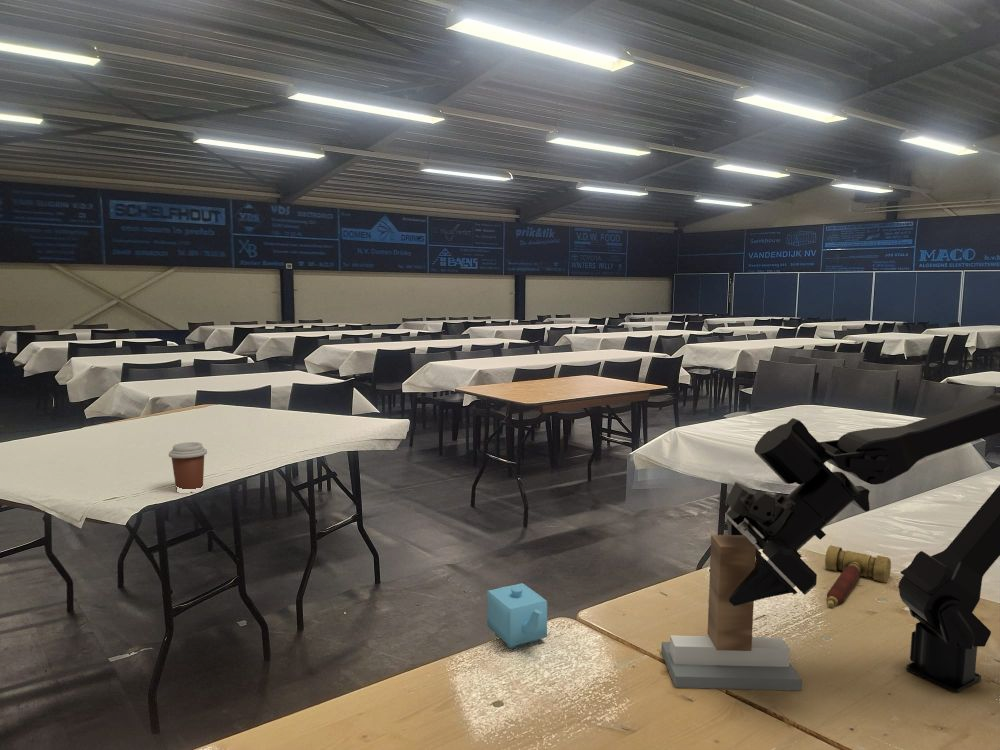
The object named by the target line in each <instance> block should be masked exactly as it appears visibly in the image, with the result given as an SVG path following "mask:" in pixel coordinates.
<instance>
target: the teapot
mask: <svg viewBox="0 0 1000 750" xmlns="http://www.w3.org/2000/svg"><path fill="white" fill-rule="evenodd" d="M486 593H487V594H486V595H487V596H486V598H487V600H486V601H487V604H486V609H487V611H486V614H487V615H486V618H487V619H486V624H487V625H486V626H487V627H488V628H489V629H490V630H491V631H492V632H493V633H495V634H494V636H495V637H498V638H500V639H501V640H502V641H503V642H504V643H505V644H506V647H507V648H509V649H515V648H517V646H519V645H523V644H526V643H536V642H539V640H541V639H545V638H547V636H548V601H547V600H546V599H545V598H544V597H542V596H541V595H540V594H539V593H537V592H536V591H534V590H533V589H532V588H531V587H529V586H527V585H526V584H524V583H522V582H521V583H517V584H512V585H508V586H501V587H499V588H495V589H490V590H487V591H486Z"/></svg>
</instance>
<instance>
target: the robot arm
mask: <svg viewBox="0 0 1000 750" xmlns="http://www.w3.org/2000/svg"><path fill="white" fill-rule="evenodd" d="M997 434H1000V392H997V393H993V394H990V395H988V396H987V397H985V398H983V399H981V400H977V401H974V402H972V403H969V404H966V405H962V406H959V407H957V408H954V409H949V410H948V411H945V412H941V413H939V414H935V415H933V416H929V417H927V418H923V419H919V420H917V421H914V422H911V423H908V424H905V425H900V426H892V427H891V426H890V427H889V426H888V427H873V428H867V429H859V430H854V431H852V430H851V431H849V432H847V433H845V434H843V435H841V436H840V437H839V438H838V439H833V440H825V441H818V440H817V439H816V438H815V436H813V435H812V434H811V433H810V432H809V430H808V427H806V425H805V424H804V423H803V422H802V421H801V420H799V419H796V418H794V417H793V418H790V419H789V421H787V422H786V423H784V424H783V423H782V424H780V425H777V426H775V428H772V429H771V430H768V431H766V432H765V433H764V434H763V435H762V436H761V437H760V439H759V440H757V443H756V444H755V446H754V453H755V454H756V455H757V456H758V458H760V459H761V460H762V461H763V462H764V463H765V464H766V465H767V467H769V469H771V470H772V472H774V474H775V475H776V476H777V477H778V478H780V480H781V481H782V482H783V483H784V484H786V485H791V484H792V485H793V484H796V485H798V486H796V487H795V488H794V489H793V490H792V491H791V492H790V493H789V494H787V495H785V494H784V493H782V492H781V493H777V494H776V495H775V496H773V495H772V494H769V493H765V492H764V491H763V490H761V489H759V490H758V491H757V490H755V489H753V488H750V487H748V486H745V485H743V484H741V483H739V482H737V481H735V482H734V484H733V486H732V488H731V490H730V492H729V493H728V495H727V497H726V499H725V501H724V504H726V505H728V506H729V507H730V509H729V511H727V512H726V515H727V516H728V517H729V519H731V520H732V521H731V520H729V519H728V518H727V519H726V521H725V522H726V524H727V535H745V536H746V537H747V538H748V539H749V540H750V541H751V542H752V543H753V545H754V546H755V544H756V546H758V547H759V549H760V550H762V551H760V550H759V549H758V548H757V547H756V562H755V568H754V569H753V570H752V572H751V573H750V574H749V575H748V576H747V577H746V578H745V579H744V581H743V582H742V583H741V584H740V585H739V586H738V587H737V588H736V590H735V591H734V592H733V593H732V595H731V596H730V597H729V599H728V600H729V602H730V603H731V604H732V605H733V606H737V605H741V604H744V603H748V602H752V601H754V602H756V601H759V600H763V599H767V598H772V597H776V596H783V595H788V594H792V595H797V594H798V591H797V590H796V589H795V587H796V588H797V589H798V590H799V591H800V592H801V594H802V595H804V596H806V595H807V594H808V593H809V592H810V591H812V589H813V588H814V587H815V588H816V586H817V580H818V579H817V576H818V574H817V573H816V572H815V571H814V570H813V569H812V568H811V567H810V566H809V565H808V564H807V563H806V562H805V561H804V560H803V559H802V557H803V555H802V554H800V552H799V550H800V549H802V548H803V547H804V546H805V545H806V544H807V543H808V542H809V541H811V539H813V538H814V537H816V538H817V539H818V540H822V539H824V538H825V536H827V534H826V533H825V532H824V531H823V530H822V529H824V528H825V527H826V526H827V525H828V524H829V523H830V522H831V521H833V520H834V519H835V518H836V517H838V516H839V514H840V513H842V512H843V511H844V510H845V509H847V507H848V506H849V505H851V504H853V505H854V506H855V507H857V508H859V509H861V510H862V511H864V512H869V511H870V509H871V508H870V500H869V495H870V492H871V491H870V489H868V488H866V487H864V486H862V485H855V484H854V483H853V481H851V480H850V478H848V476H847V475H846V474H845V473H844V472H846V473H848V474H849V475H851V476H853V477H855V478H857V479H859V480H861V481H863V482H865V483H867V484H870V485H882V484H885V483H887V482H890V481H892V480H894V479H896V478H898V477H900V476H901V475H903V474H905V473H907V472H909V471H910V470H911V469H912V467H913V466H915V465H916V464H917V462H919V461H921V460H923V459H925V458H927V457H930V456H933V455H936V454H939V453H941V452H945V451H948V450H951V449H954V448H958V447H960V446H963V445H966V444H969V443H972V442H976V441H978V440H981V439H984V438H987V437H991V436H995V435H997ZM826 462H827V463H829V464H830V465H832V466H834V467H836V468H837V469H840V470H842V471H843V472H841V471H832V470H831V469H830V468H829V467H828V466H827V465H826V464H825V463H826ZM762 553H763V555H764V556H766V557H767V559H766V558H765V557H764V556H763V555H762ZM999 557H1000V484H999V485H998V486H997V487H996V488H995V490H994V491H993V492H992V494H991V495H989V496H988V498H987V499H986V500H985V501H984V503H983V504H982V505H981V506H980V507H979V508H978V510H977V511H976V512H975V513H974V515H973V516H972V517H971V519H970V520H968V522H967V523H966V524H965V526H963V528H962V529H961V530H960V532H958V533H957V535H956V537H955V538H954V539H953V540H952V541H951V542H950V543H949V545H948V546H947V547H946V548H945V549H944V550H942V551H941V552H938V553H936V554H933V555H930V554H928V553H926V552H924V551H922V550H920V551H919V552H918V553H916V554H915V556H914V558H913V559H912V561H911V563H910V564H909V565H908V566H907V567H905V568H904V569H902V570H900V574H901V575H902V577H901V578H900V580H899V582H898V586H897V588H898V593H899V597H900V599H901V601H902V602H903V604H904V605H906V607H908V609H909V613H910V616H912V617H913V618H915V619H916V620H917V621H918V622H916V623H915V629H914V631H913V632H911V637H910V639H911V640H910V651H909V652H910V653H909V660H910V662H911V663H908V664H906V665H905V669H906V670H907V671H908V672H911V673H913V674H915V675H917V676H919V677H921V678H924V679H926V680H927V681H929V682H932V683H934V684H936V685H939V686H940V687H943V688H945V689H947V690H949V691H951V692H955V693H958V692H960V691H962V690H964V689H965V688H968V687H970V686H972V685H973V684H975V683H977V682H979V681H982V675H981V674H979V673H977V672H976V668H977V657H978V656H977V654H978V647H985V646H986V645H987V643H988V641H989V639H990V637H991V634H992V631H991V630H990V629H989V628H988V627H987V626H986V625H985V624H984V623H983V622H982V621H981V620H980V619H979V618H978V617H977V616H976V615H975V613H973V612H974V611H975V609H976V607H977V606H978V605H979V603H980V600H981V591H982V584H983V577H984V576H985V574H986V573H987V571H989V570H990V568H991V567H992V566H993V565H994V563H996V561H997V560H999V559H998V558H999ZM708 573H710V568H709V570H708Z"/></svg>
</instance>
